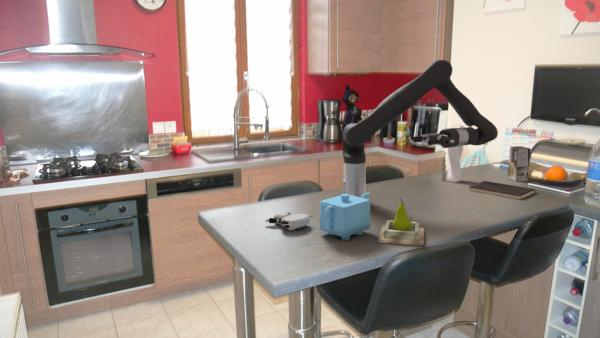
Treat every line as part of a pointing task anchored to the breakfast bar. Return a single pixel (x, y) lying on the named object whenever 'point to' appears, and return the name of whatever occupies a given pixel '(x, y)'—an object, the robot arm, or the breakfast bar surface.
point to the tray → (402, 234)
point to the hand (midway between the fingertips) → (420, 140)
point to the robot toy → (290, 220)
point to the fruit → (401, 219)
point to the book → (502, 189)
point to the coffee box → (519, 163)
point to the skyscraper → (453, 164)
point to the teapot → (345, 215)
